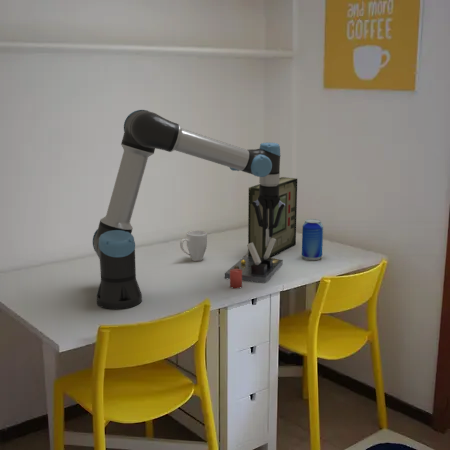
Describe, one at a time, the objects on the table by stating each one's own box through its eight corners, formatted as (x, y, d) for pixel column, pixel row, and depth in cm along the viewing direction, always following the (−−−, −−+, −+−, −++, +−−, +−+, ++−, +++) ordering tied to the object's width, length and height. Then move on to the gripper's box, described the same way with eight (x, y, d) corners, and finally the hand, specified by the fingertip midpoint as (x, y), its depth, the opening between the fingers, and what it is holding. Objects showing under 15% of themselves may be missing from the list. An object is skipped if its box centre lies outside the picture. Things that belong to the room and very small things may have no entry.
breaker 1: (259, 264, 234) (250, 243, 233) (255, 266, 235) (246, 245, 234) (261, 262, 237) (252, 242, 236) (258, 263, 237) (249, 243, 237)
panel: (265, 283, 231) (265, 270, 230) (224, 278, 236) (224, 265, 235) (282, 264, 253) (282, 252, 252) (244, 260, 258) (245, 248, 257)
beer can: (300, 260, 259) (301, 222, 255) (302, 254, 266) (304, 217, 263) (321, 261, 257) (322, 223, 253) (322, 255, 265) (324, 218, 261)
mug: (199, 255, 265) (199, 229, 262) (211, 260, 259) (210, 233, 256) (175, 260, 258) (175, 233, 256) (186, 265, 252) (186, 238, 249)
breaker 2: (266, 260, 241) (274, 241, 238) (262, 258, 242) (270, 239, 239) (268, 258, 244) (276, 239, 241) (264, 256, 244) (272, 237, 241)
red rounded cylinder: (239, 289, 225) (239, 273, 223) (228, 287, 226) (228, 271, 225) (243, 285, 229) (243, 269, 227) (232, 283, 230) (232, 268, 229)
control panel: (264, 261, 257) (265, 189, 250) (248, 258, 261) (248, 187, 254) (295, 244, 282) (297, 178, 275) (280, 242, 286) (282, 177, 278)
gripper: (288, 183, 237) (286, 243, 243) (256, 181, 241) (255, 240, 247) (283, 187, 230) (281, 249, 236) (250, 184, 234) (249, 245, 240)
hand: (268, 244), depth 242 cm, fingers closed
